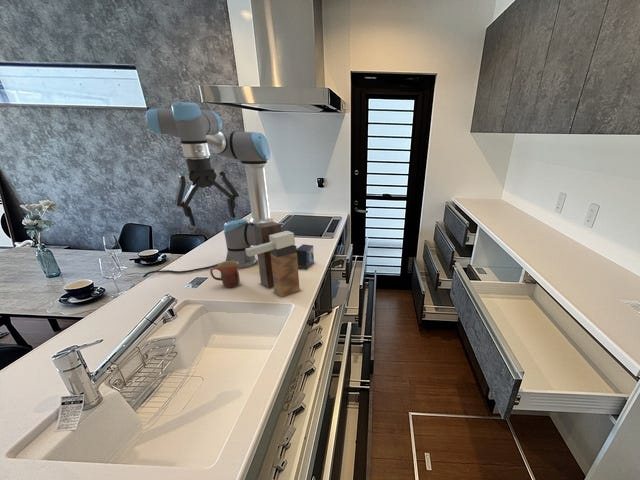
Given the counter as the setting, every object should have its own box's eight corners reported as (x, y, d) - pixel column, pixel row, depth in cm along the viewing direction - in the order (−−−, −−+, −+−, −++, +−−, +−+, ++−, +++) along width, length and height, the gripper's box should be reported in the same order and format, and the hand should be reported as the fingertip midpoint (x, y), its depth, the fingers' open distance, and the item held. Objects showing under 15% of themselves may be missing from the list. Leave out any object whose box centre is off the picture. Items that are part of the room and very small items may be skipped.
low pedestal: (281, 297, 129) (277, 257, 122) (274, 292, 133) (270, 253, 126) (299, 290, 135) (296, 252, 128) (292, 286, 139) (289, 249, 132)
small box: (307, 269, 158) (306, 250, 154) (295, 268, 159) (294, 249, 155) (314, 263, 168) (313, 244, 164) (303, 261, 169) (302, 243, 165)
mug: (240, 280, 144) (237, 259, 140) (243, 287, 137) (239, 266, 133) (213, 284, 139) (208, 263, 135) (213, 291, 132) (209, 270, 128)
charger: (250, 257, 115) (248, 245, 112) (245, 254, 118) (242, 242, 116) (295, 244, 127) (293, 232, 125) (288, 241, 130) (287, 230, 128)
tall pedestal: (268, 288, 137) (261, 227, 126) (261, 283, 141) (253, 224, 130) (286, 283, 143) (280, 224, 131) (278, 278, 147) (272, 221, 136)
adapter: (277, 257, 122) (276, 249, 121) (270, 253, 126) (269, 246, 125) (296, 252, 128) (296, 245, 127) (289, 249, 132) (288, 242, 131)
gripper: (156, 162, 88) (178, 231, 98) (241, 155, 103) (252, 216, 113) (150, 159, 92) (171, 226, 103) (232, 153, 107) (243, 212, 118)
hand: (213, 221), depth 108 cm, fingers open, 13 cm apart
